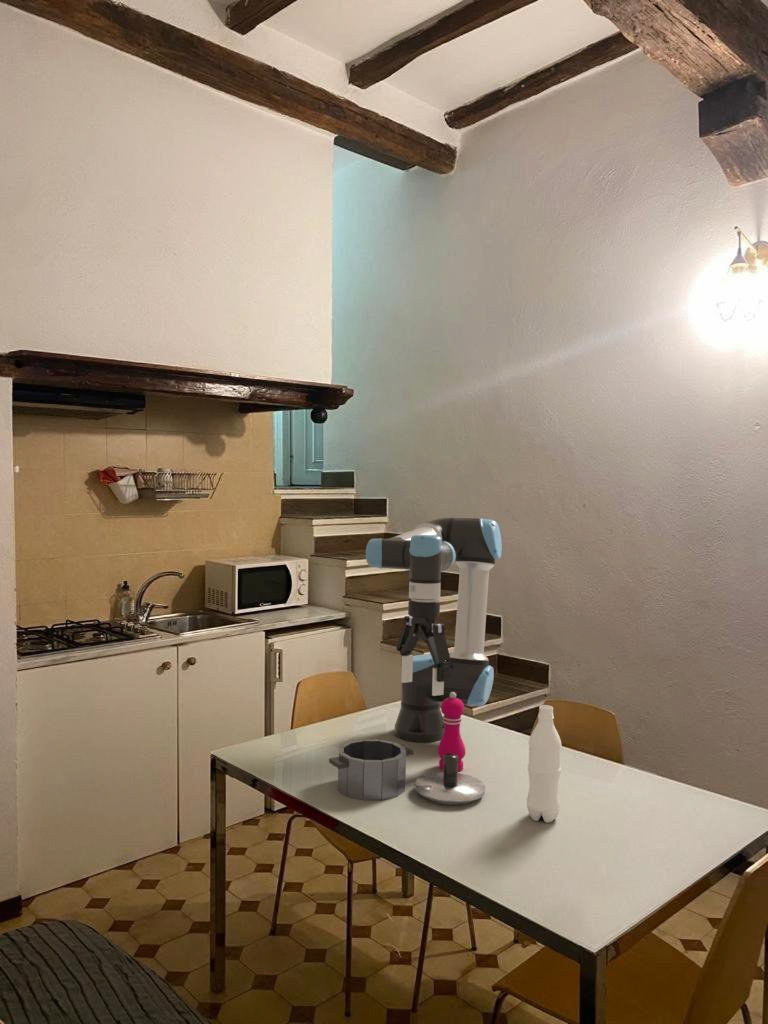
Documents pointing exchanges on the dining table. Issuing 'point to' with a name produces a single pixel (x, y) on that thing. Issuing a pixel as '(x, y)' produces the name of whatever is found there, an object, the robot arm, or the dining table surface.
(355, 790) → the pot
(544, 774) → the water bottle
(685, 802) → the dining table surface
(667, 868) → the dining table surface
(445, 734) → the pepper mill
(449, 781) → the lid
